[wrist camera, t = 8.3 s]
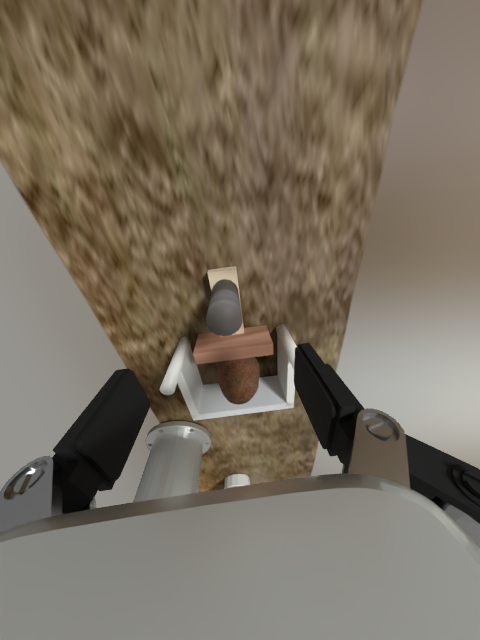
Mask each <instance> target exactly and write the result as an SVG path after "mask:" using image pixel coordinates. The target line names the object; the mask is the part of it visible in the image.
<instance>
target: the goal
mask: <svg viewBox="0 0 480 640" xmlns="http://www.w3.org/2000/svg"><path fill="white" fill-rule="evenodd" d="M276 332H277V374H278V375H276V376H268V377H260V378H259V386H258V389H257V392H256V393H255V395H254V396H253V397H252V399H251V400H250V401H248V402H247V403H245V404H233V403H230V402H229V401H228V400H227V399H226V398H225V397H224V395H223V393H222V391H221V388H220V386H219V383H213V384H206V385H203V383H202V380H201V377H200V374H199V371H198V367H197V365H196V362H195V359H194V356H193V352H192V349H191V346H190V339H189V338H188V337H182V338H180V341H179V343H178V345H177V348H176V350H175V353H174V355H173V358H172V360H171V362H170V365H169V367H168V370H167V372H166V375H165V377H164V379H163V382H162V384H161V387H160V392H161V393H162V394H164V395H171V394H173V393H174V392H175V389H176V385H177V383H178V386H179V388H180V390H181V393H182V395H183V397H184V400H185V402H186V404H187V406H188V409H189V411H190V413H191V416H192V418H193V420H201V419H209V418H217V417H225V416H232V415H240V414H248V413H256V412H264V411H271V410H279V409H287V408H294V393H295V385H294V359H295V347H297V346H296V344H295V342H294V341H293V339H292V337H291V335H290V333H289V332H288V330H287V328H286V326H285V325H284V324H279V325H278V326H277V327H276Z"/></svg>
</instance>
